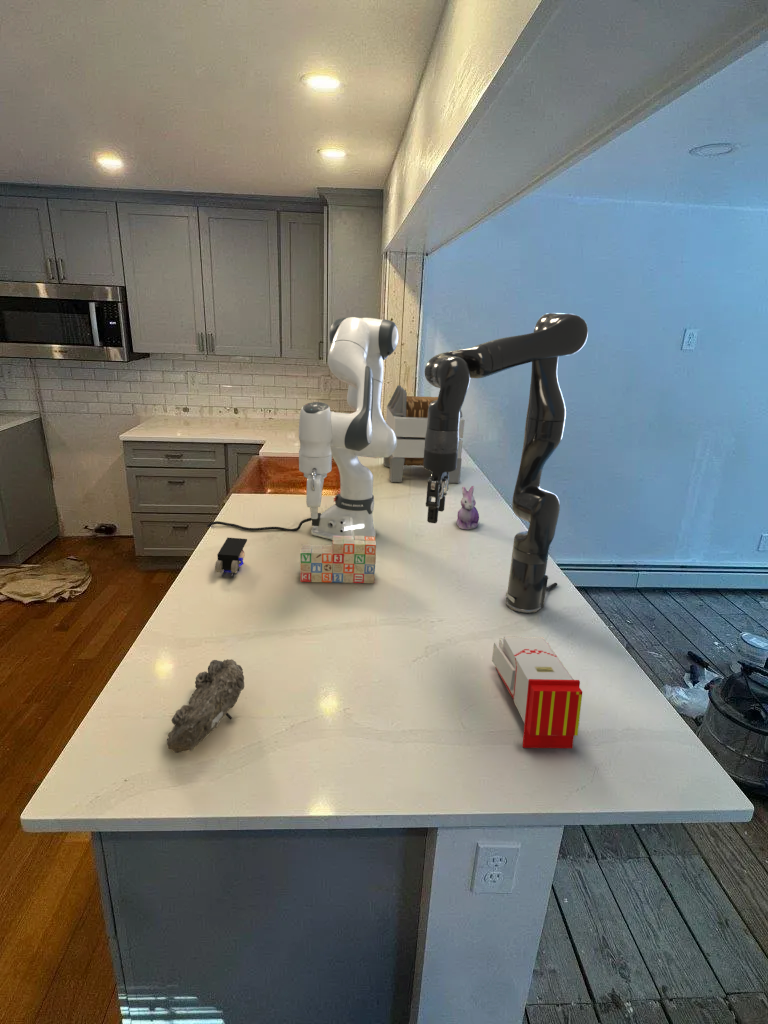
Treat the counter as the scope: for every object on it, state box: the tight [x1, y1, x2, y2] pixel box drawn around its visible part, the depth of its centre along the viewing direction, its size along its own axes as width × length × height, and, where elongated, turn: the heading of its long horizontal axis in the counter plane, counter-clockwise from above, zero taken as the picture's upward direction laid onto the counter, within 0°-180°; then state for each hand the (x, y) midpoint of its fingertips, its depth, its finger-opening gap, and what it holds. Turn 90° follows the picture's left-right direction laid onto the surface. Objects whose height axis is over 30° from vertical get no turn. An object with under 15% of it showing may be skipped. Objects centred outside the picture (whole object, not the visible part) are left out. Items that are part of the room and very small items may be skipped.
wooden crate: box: [383, 384, 465, 484], centre depth 268 cm, size 34×33×41 cm
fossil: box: [166, 658, 245, 754], centre depth 106 cm, size 22×10×15 cm
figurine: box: [456, 485, 480, 530], centre depth 208 cm, size 9×10×15 cm
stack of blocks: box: [299, 536, 377, 584], centre depth 163 cm, size 21×6×12 cm, turn 94°
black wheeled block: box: [214, 537, 248, 578], centre depth 166 cm, size 7×8×15 cm
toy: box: [491, 636, 583, 749], centre depth 115 cm, size 12×13×30 cm
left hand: (315, 512), depth 158 cm, fingers open, 8 cm apart
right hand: (435, 516), depth 131 cm, fingers open, 8 cm apart
